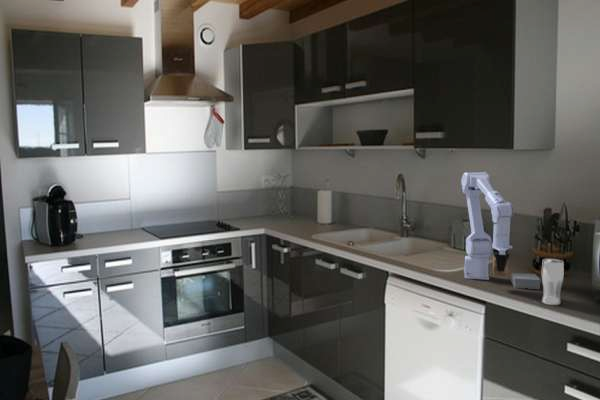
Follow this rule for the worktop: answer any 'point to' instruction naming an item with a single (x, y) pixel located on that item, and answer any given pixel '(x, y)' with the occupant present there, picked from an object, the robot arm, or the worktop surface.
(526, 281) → the slate block
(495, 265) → the walnut block
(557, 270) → the beer glass
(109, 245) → the worktop surface
